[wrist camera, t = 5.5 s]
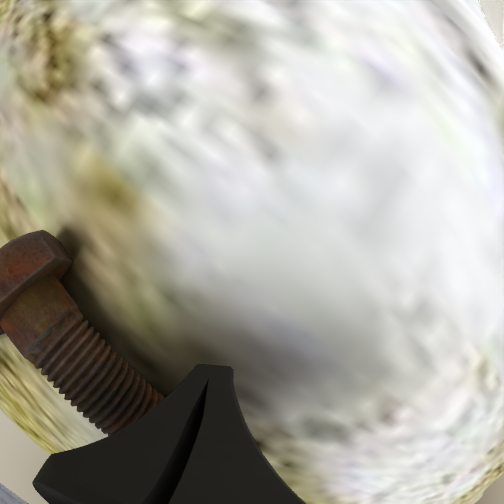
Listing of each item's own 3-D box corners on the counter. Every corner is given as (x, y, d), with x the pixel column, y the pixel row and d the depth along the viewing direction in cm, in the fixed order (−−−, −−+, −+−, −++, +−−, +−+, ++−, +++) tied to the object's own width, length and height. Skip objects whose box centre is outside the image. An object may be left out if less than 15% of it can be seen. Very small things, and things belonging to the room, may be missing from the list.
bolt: (233, 439, 15) (50, 257, 12) (297, 445, 11) (63, 205, 9) (191, 510, 10) (-27, 322, 7) (251, 539, 7) (-54, 292, 4)
